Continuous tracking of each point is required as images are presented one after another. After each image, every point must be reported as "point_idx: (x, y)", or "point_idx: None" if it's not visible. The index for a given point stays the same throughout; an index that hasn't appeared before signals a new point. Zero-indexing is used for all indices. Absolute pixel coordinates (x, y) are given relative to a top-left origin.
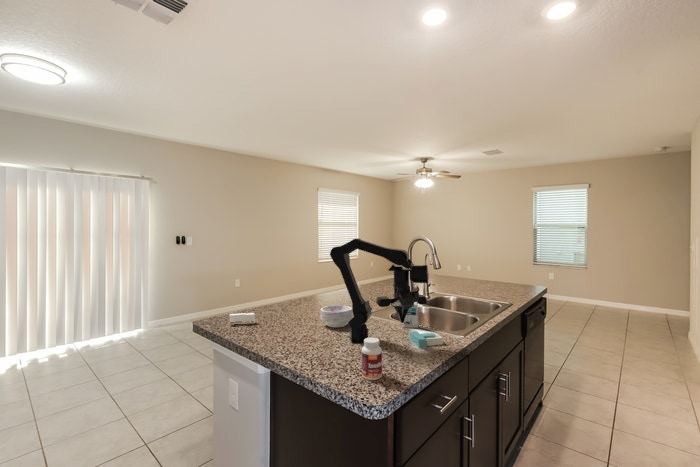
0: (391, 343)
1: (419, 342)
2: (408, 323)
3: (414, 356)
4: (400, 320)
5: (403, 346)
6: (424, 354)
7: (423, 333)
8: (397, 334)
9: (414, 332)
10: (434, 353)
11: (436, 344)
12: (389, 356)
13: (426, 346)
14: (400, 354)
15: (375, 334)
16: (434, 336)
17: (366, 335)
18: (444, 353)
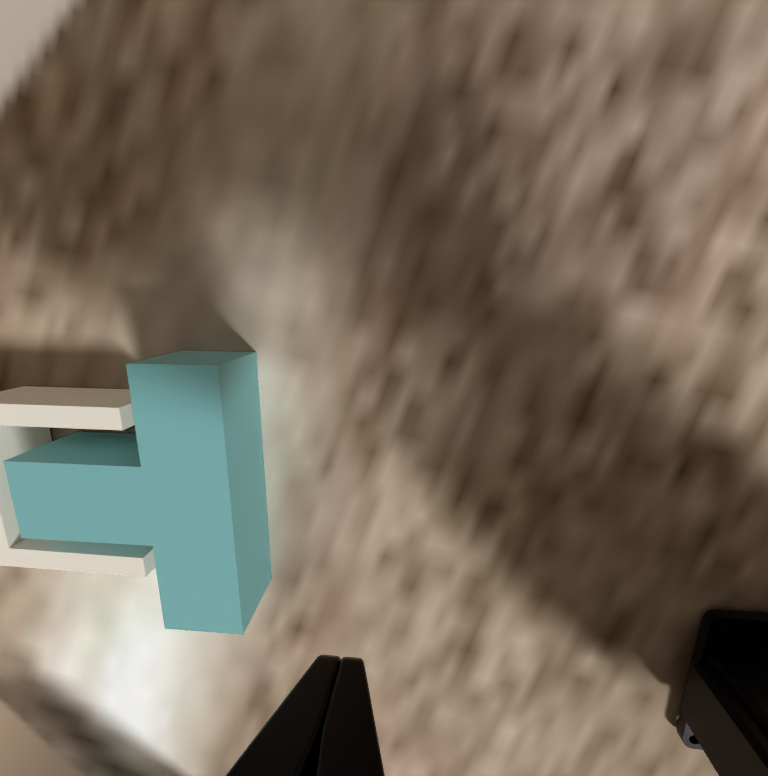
0: (479, 524)
1: (226, 360)
2: None
3: (377, 132)
4: (372, 723)
5: (392, 424)
6: (258, 169)
7: (114, 572)
8: None
9: (199, 603)
10: (154, 177)
11: (76, 388)
12: (646, 185)
13: (179, 352)
14: (503, 219)
15: (541, 758)
16: (23, 456)
17: (745, 693)
18: (60, 157)
